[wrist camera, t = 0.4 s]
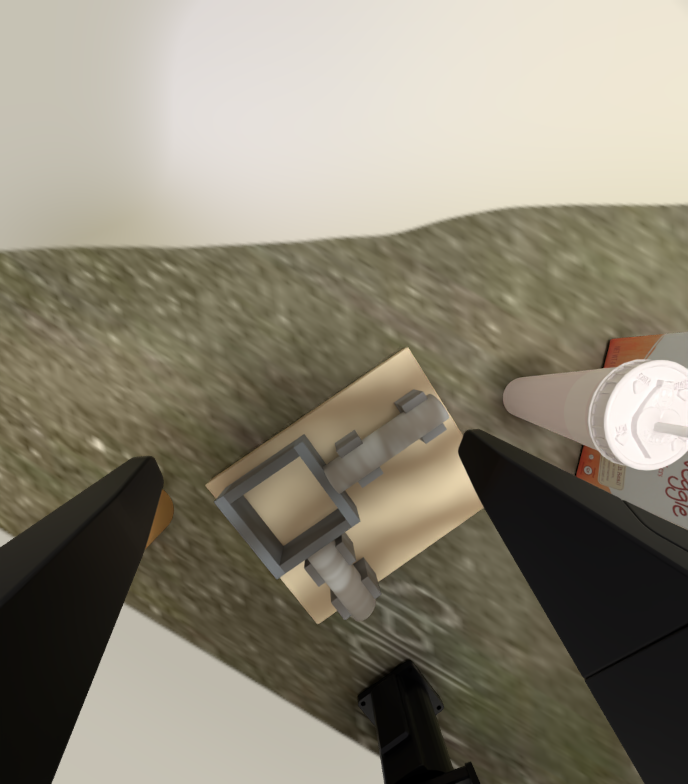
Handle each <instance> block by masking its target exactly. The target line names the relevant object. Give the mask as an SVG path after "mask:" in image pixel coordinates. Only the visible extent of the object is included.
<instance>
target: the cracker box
mask: <svg viewBox="0 0 688 784" xmlns="http://www.w3.org/2000/svg"><path fill="white" fill-rule="evenodd" d="M636 359H650V360H668V361H672V362H675V363H678V364H680V365H682V366H684V367H685V368H686V369H688V332H679V333H667V334H660V335H648V336H638V337H627V338H617V339H611V340H610V345H609V349H608V353H607V357H606V361H605V365H604V368H612V367H618V366H620V365H621V364H623V363H626V362H629V361H633V360H636ZM576 477H578V478H580V479H582V480H584V481H586V482H588V483H590V484H592V485H594V486H597V487H599V488H601V489H603V490H605V491H607V492H609V493H611V494H613V495H615V496H617V497H619V498H620V499H621V500H625V501H627V502H629V503H631V504H633V505H635V506H638V507H640V508H642V509H644V510H646V511H648V512H650V513H652V514H654V515H656V516H658V517H661V518H663V519H665V520H667V521H670V522H672V523H674V524H676V525H679V526H681V527H683V528H685V529H687V530H688V451H687V452H686V453H685V454H684V455H683V456H682V457H681V458H679V459H678V460H676V461H675V462H673V463H672V464H670V465H668V466H666V467H663V468H660V469H656V470H638V469H634V468H631V467H628V466H624V465H620V464H616V463H613V462H611V461H610V460H608V459H606V458H605V457H603V456H602V455H601V454H600V452H599V451H597V450H595V449H592V448H590V447H587V446H585V445H584V447H583V450H582V454H581V458H580V462H579V466H578V469H577V473H576Z"/></svg>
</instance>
